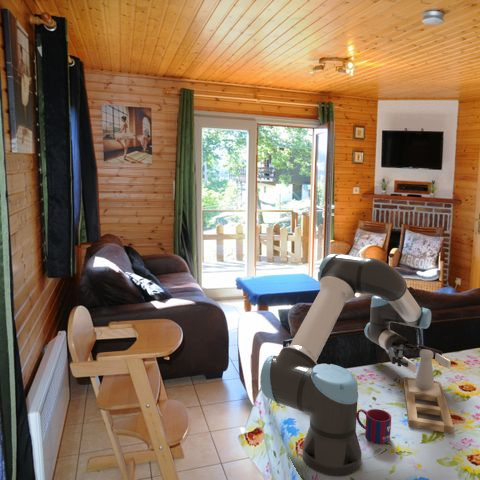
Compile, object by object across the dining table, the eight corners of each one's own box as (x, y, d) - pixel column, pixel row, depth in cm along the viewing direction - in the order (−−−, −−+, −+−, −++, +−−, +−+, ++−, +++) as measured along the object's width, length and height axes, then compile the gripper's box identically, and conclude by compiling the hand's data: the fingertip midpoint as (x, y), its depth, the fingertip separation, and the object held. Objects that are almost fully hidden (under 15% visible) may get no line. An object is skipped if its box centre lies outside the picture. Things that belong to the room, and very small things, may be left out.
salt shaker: (411, 384, 152) (413, 348, 151) (424, 382, 154) (427, 346, 153) (423, 392, 147) (426, 354, 145) (437, 389, 149) (440, 352, 147)
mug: (380, 447, 121) (382, 424, 120) (350, 431, 128) (351, 409, 127) (394, 438, 125) (396, 416, 124) (364, 423, 132) (366, 401, 131)
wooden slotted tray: (408, 426, 131) (408, 418, 131) (403, 382, 159) (404, 376, 159) (453, 433, 127) (453, 426, 127) (440, 387, 156) (440, 380, 155)
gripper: (421, 349, 170) (462, 373, 150) (364, 356, 164) (399, 381, 143) (422, 330, 169) (464, 352, 149) (365, 336, 163) (400, 359, 142)
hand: (432, 366), depth 146 cm, fingers open, 12 cm apart
